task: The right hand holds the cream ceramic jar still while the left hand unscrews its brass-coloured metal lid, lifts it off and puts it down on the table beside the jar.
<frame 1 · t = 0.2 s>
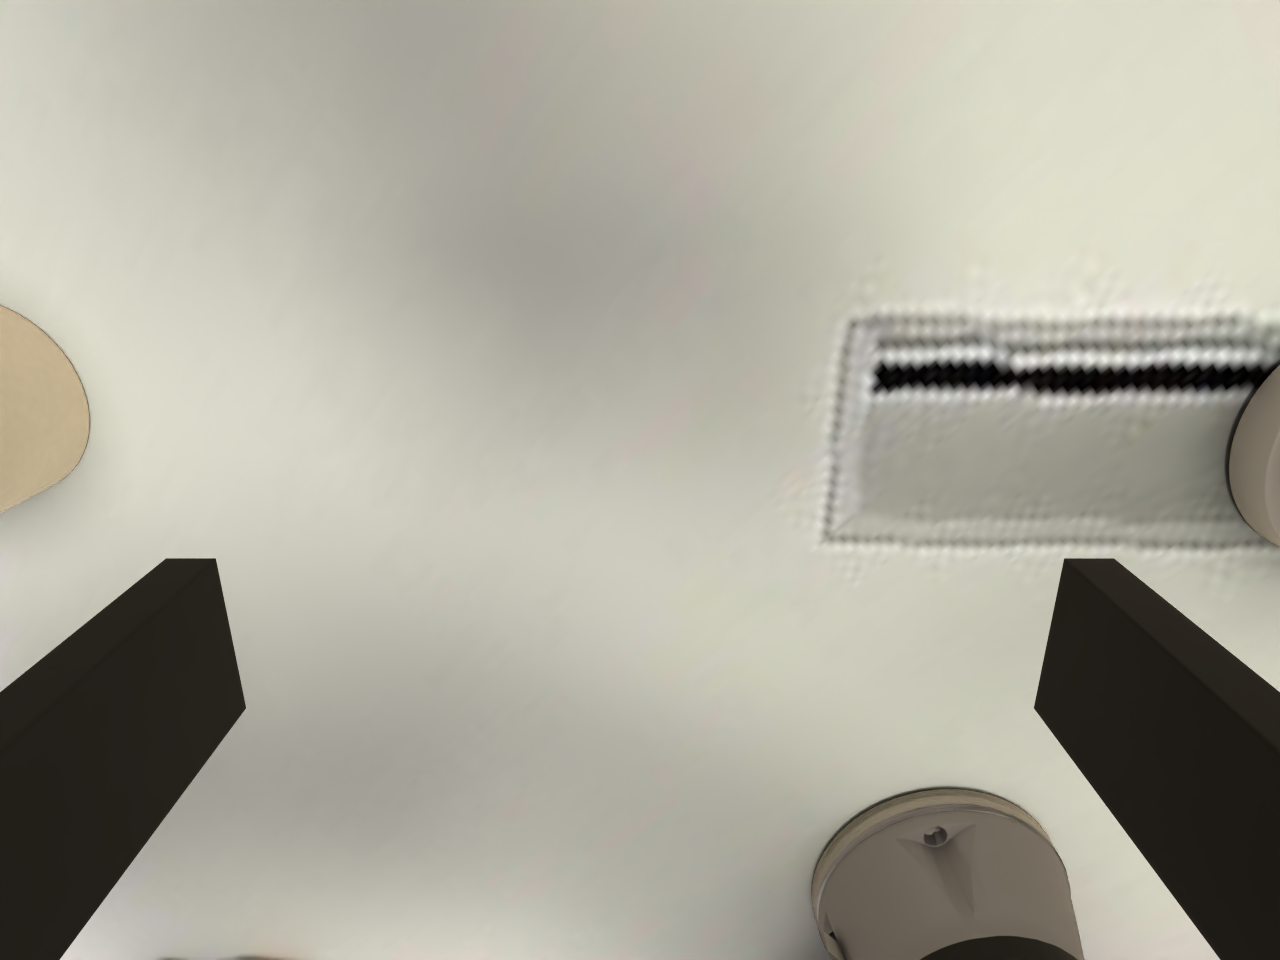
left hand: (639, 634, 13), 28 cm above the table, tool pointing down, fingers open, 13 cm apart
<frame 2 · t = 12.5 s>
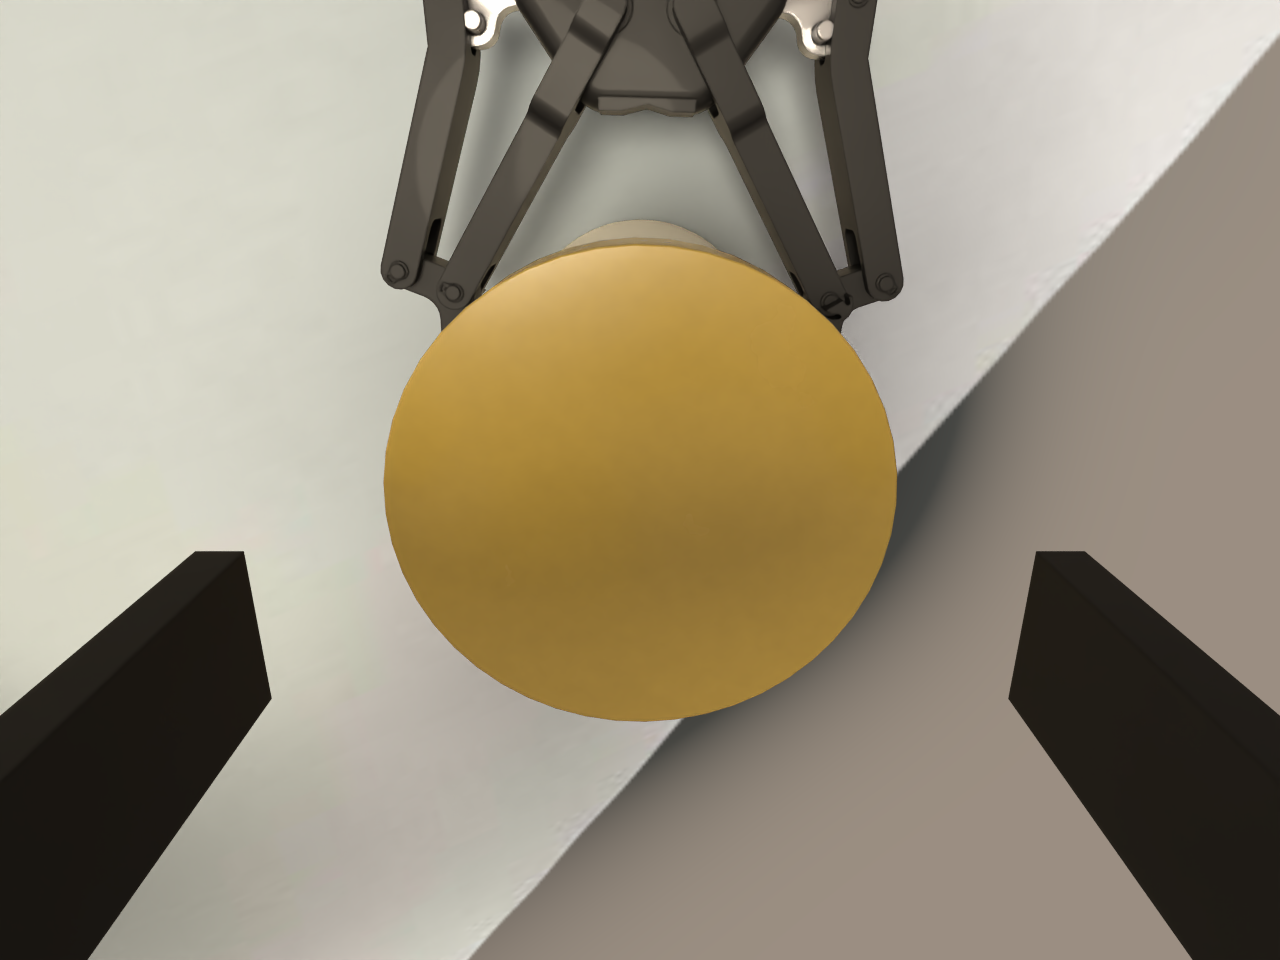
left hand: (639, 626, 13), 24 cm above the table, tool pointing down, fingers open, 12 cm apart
right hand: (637, 483, 31), fingers closed on jar, 10 cm apart
lid: (640, 503, 18), point 19 cm above the table, screwed on, not yet turned
jar: (640, 339, 36), on the table, touching right hand
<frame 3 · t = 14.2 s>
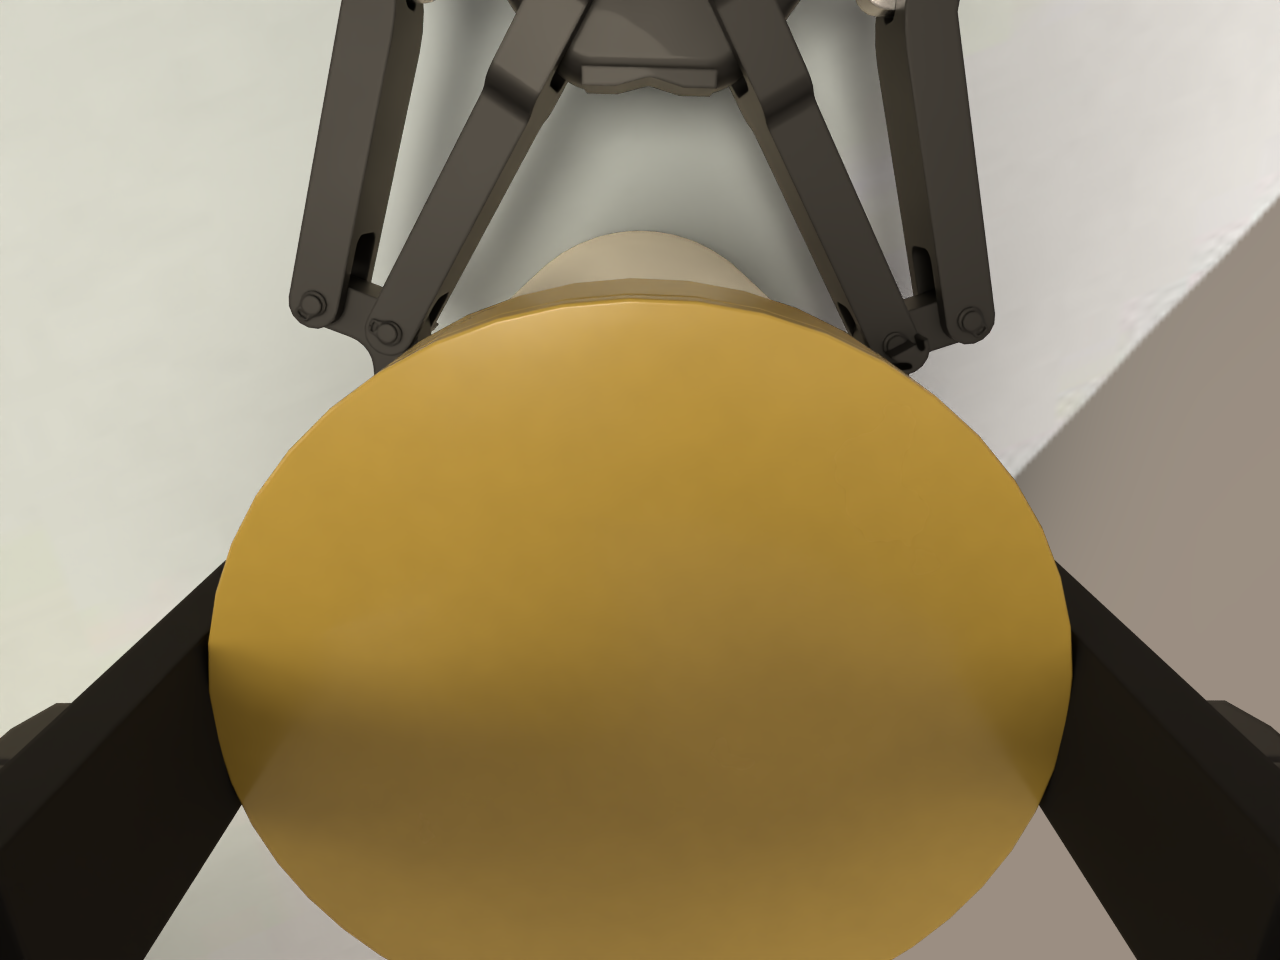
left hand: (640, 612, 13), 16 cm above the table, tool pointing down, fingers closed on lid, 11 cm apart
right hand: (636, 573, 24), fingers closed on jar, 10 cm apart
lid: (640, 714, 11), point 19 cm above the table, screwed on, not yet turned, touching left hand
jar: (639, 379, 29), on the table, touching right hand
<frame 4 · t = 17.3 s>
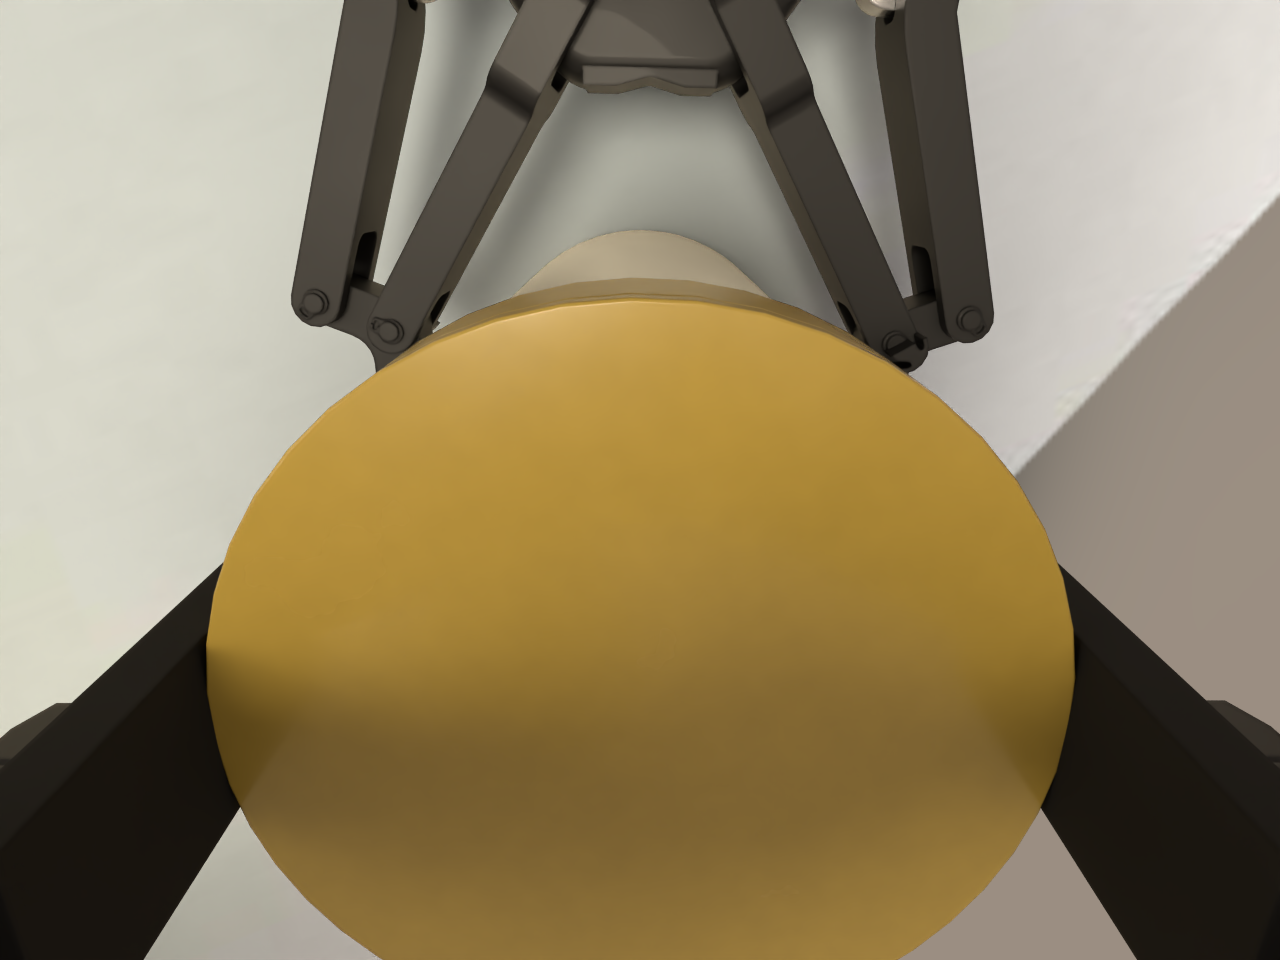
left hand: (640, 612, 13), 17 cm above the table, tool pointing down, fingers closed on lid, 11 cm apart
right hand: (636, 571, 24), fingers closed on jar, 10 cm apart
lid: (640, 716, 11), point 19 cm above the table, turned 97° so far, risen 0.1 cm, still on its thread, touching left hand
jar: (640, 378, 29), on the table, touching right hand
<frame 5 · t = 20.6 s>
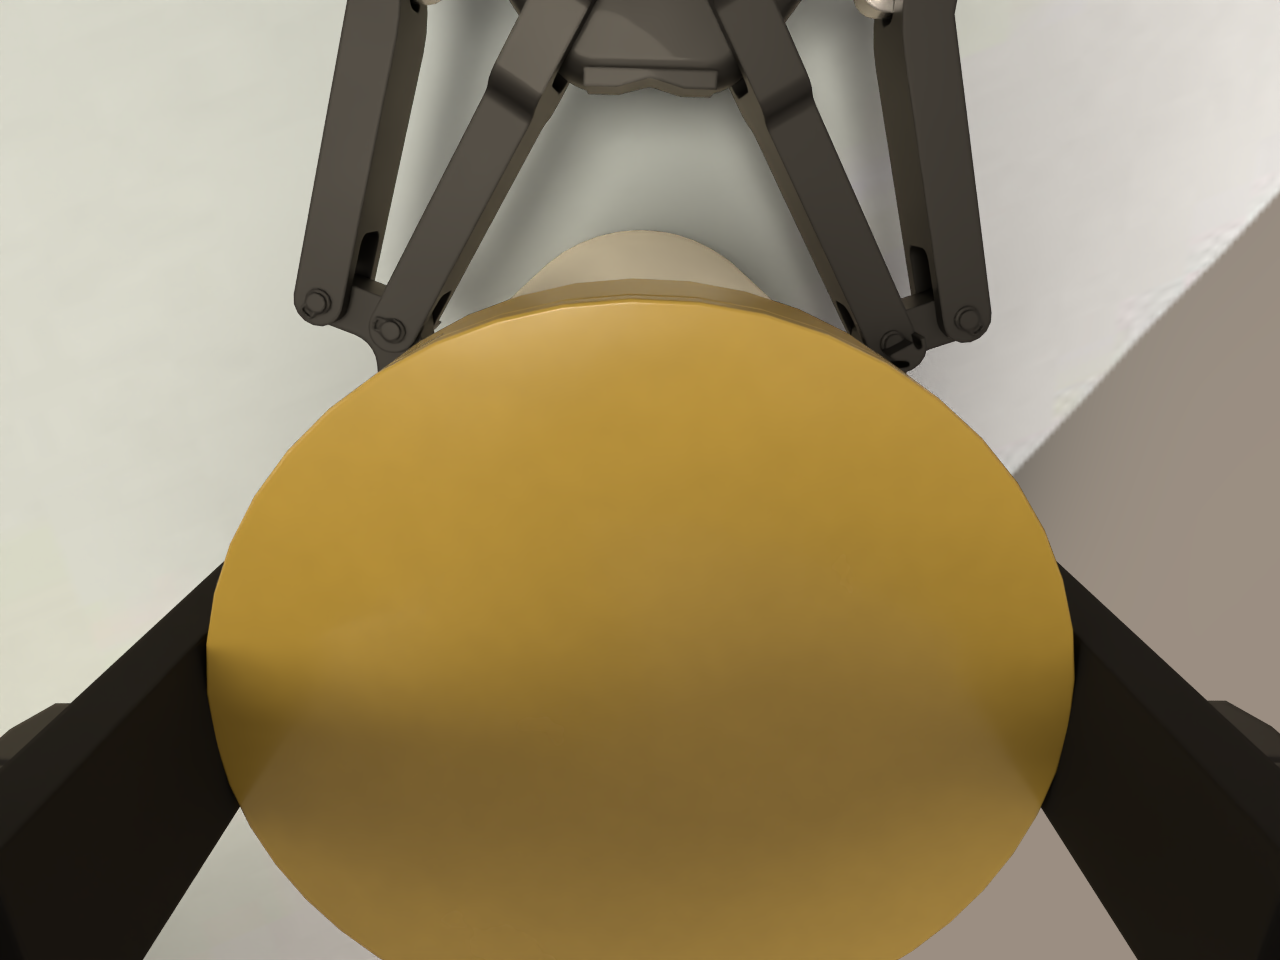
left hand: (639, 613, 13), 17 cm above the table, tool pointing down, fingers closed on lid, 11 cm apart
right hand: (636, 569, 24), fingers closed on jar, 10 cm apart
lid: (640, 716, 11), point 19 cm above the table, turned 195° so far, risen 0.3 cm, still on its thread, touching left hand
jar: (640, 378, 29), on the table, touching right hand
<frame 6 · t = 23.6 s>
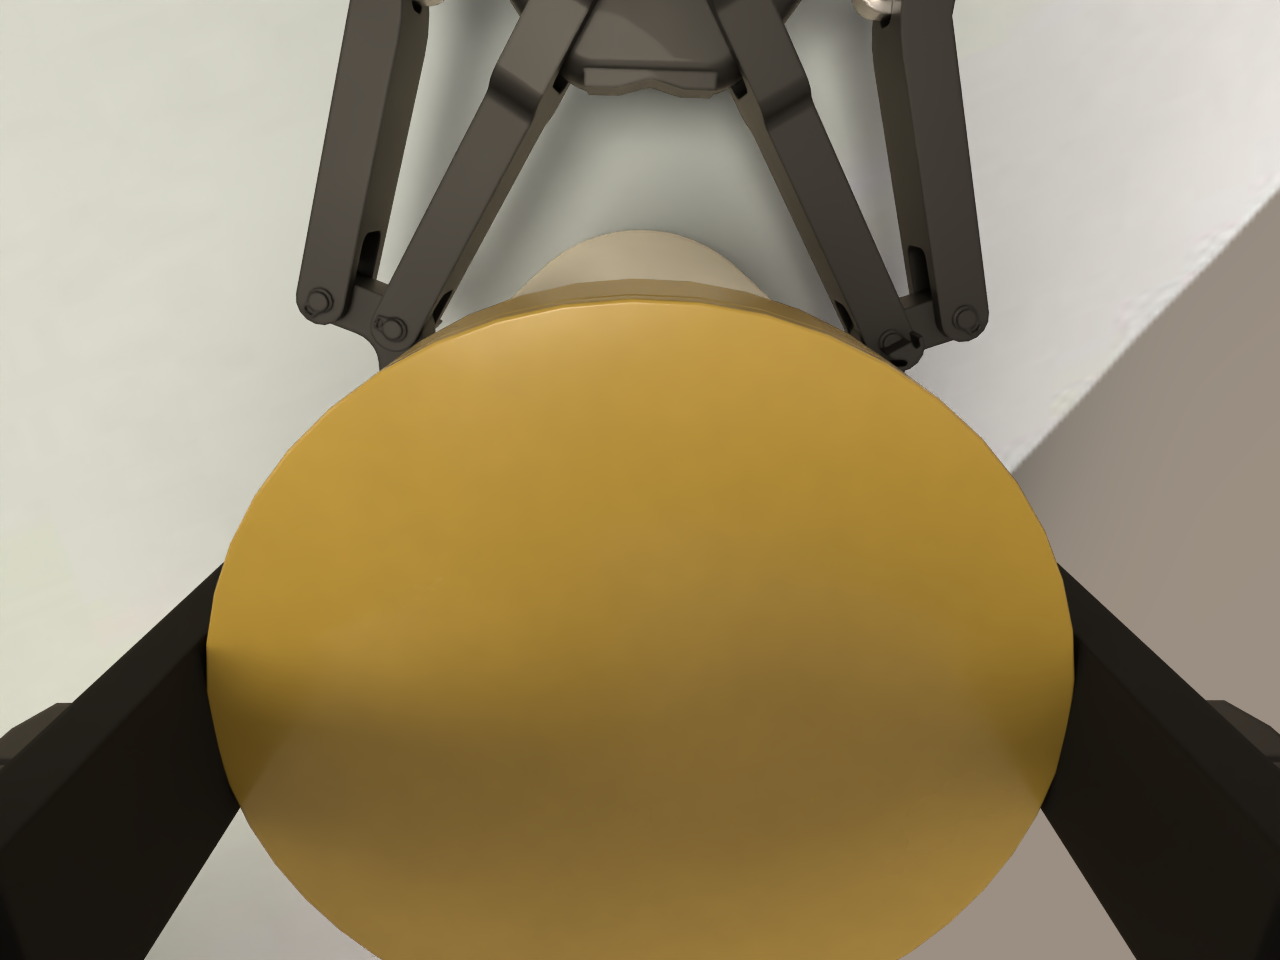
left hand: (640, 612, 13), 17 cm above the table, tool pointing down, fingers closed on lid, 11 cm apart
right hand: (636, 566, 24), fingers closed on jar, 10 cm apart
lid: (640, 717, 11), point 20 cm above the table, turned 292° so far, risen 0.5 cm, still on its thread, touching left hand
jar: (640, 377, 29), on the table, touching right hand
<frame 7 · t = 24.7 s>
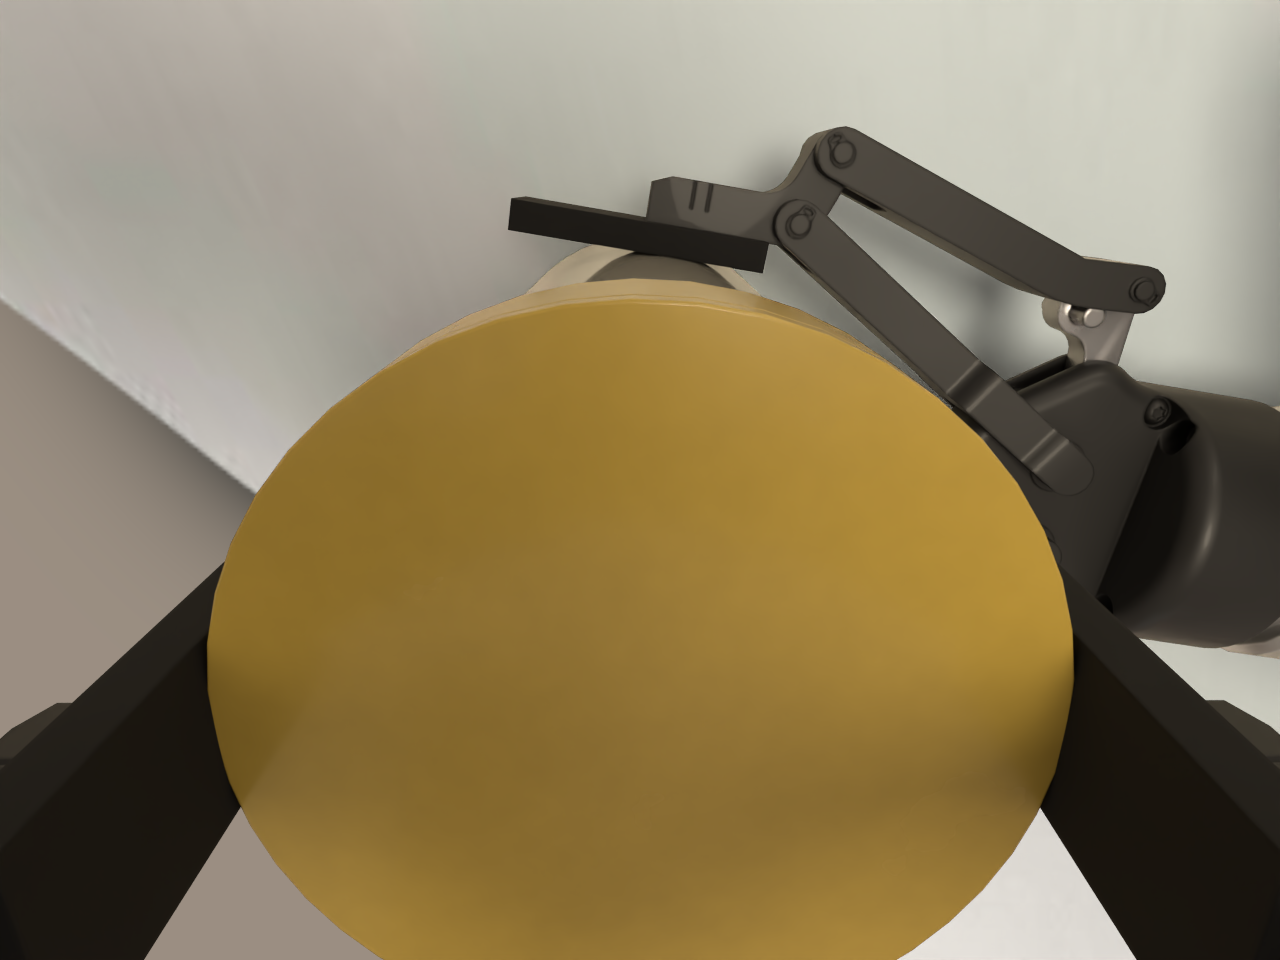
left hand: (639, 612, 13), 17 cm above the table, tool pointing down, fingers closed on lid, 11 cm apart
right hand: (496, 409, 23), fingers closed on jar, 10 cm apart
lid: (640, 716, 11), point 20 cm above the table, off its thread, touching left hand
jar: (641, 379, 30), on the table, touching right hand
when the left hand's fingers open (0 cm above the table, at t = 30.3 s): lid drops 1 cm, point 2 cm above the table.
when the right hand's fingers open (7 cm above the table, at t = 31.3 s): jar stays where it is, on the table.
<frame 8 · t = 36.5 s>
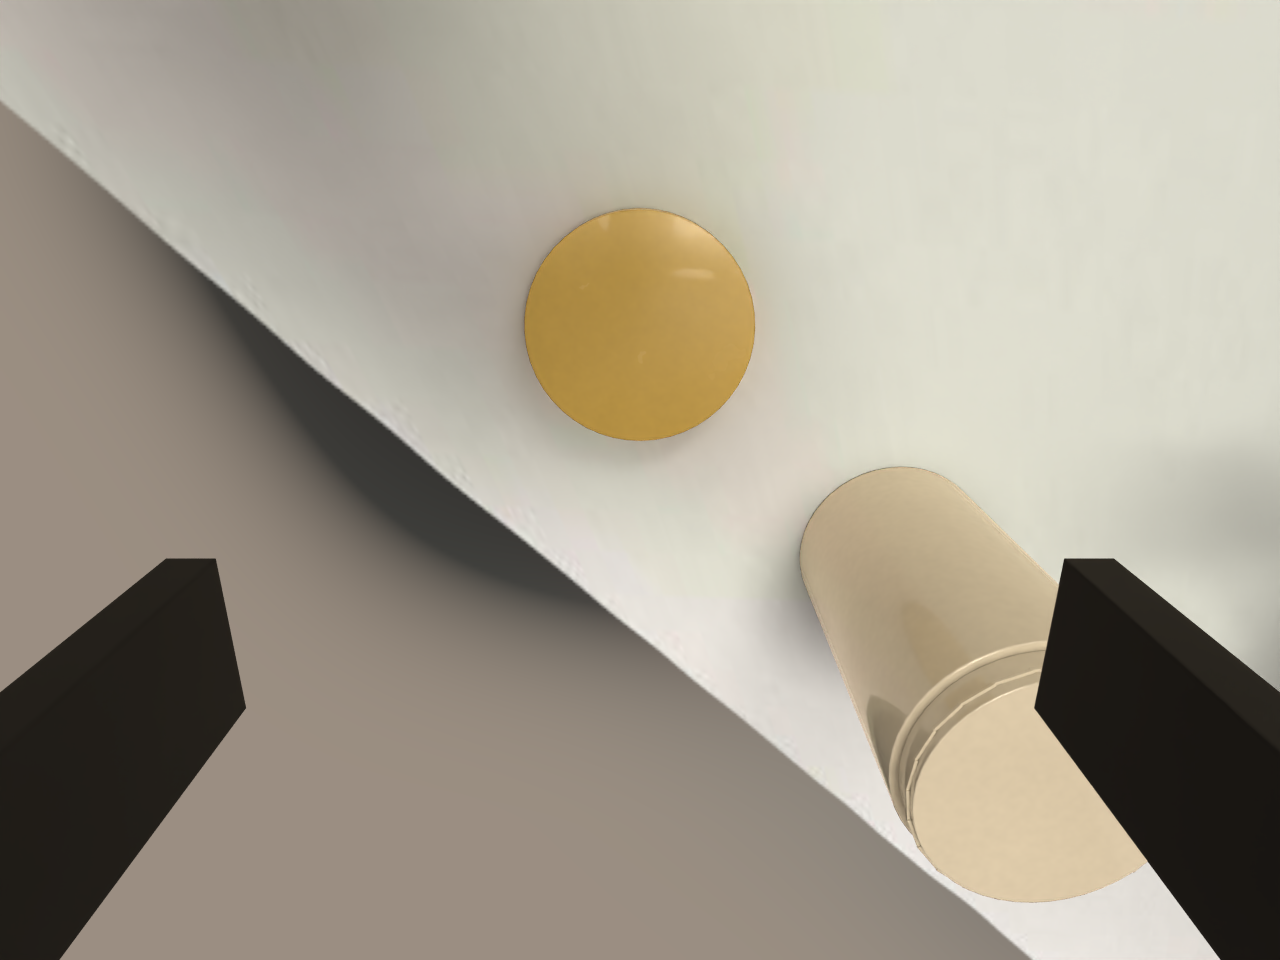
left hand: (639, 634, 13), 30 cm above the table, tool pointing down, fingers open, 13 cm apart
lid: (639, 329, 39), point 2 cm above the table, off its thread
jar: (890, 552, 45), on the table
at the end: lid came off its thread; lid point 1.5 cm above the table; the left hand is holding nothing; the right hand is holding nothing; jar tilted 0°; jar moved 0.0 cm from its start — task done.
